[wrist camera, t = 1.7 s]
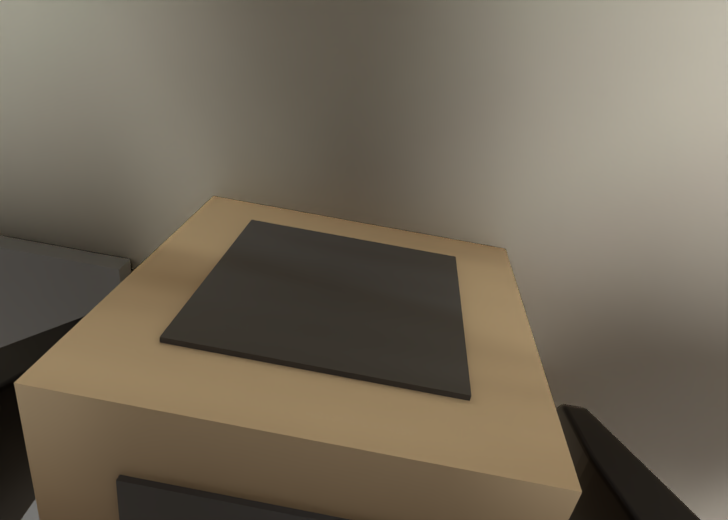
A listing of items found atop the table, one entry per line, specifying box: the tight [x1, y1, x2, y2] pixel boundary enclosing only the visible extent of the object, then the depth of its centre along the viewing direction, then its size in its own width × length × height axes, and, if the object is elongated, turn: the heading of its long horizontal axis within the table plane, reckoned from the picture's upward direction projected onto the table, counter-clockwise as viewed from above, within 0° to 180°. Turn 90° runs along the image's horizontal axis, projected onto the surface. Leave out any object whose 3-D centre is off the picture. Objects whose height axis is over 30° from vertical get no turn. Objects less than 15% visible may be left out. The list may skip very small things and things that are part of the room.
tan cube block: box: [14, 196, 582, 520], centre depth 8 cm, size 5×5×5 cm
